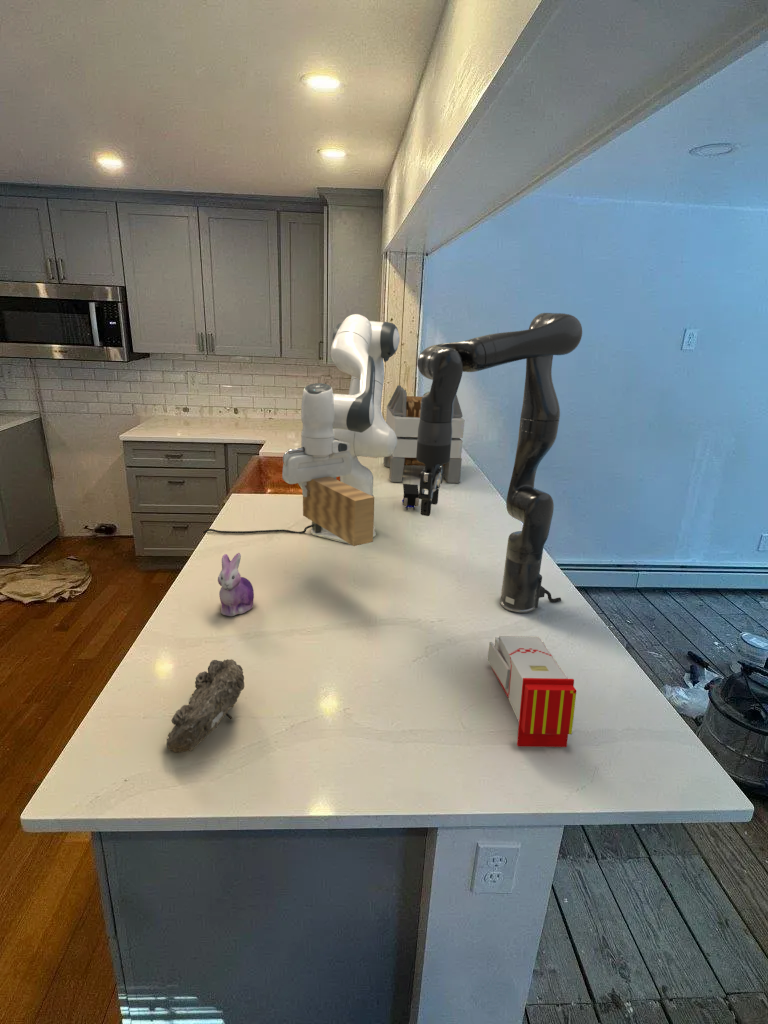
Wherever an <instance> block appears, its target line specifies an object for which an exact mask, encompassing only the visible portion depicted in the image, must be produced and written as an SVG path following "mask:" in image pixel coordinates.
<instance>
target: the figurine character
mask: <svg viewBox="0 0 768 1024" xmlns="http://www.w3.org/2000/svg"><path fill="white" fill-rule="evenodd" d="M402 488H403V489H402V490H403V498H402V500H401V502H402V505H403V507H405V510H406V511H408V510H409V508H410V509H412V511H416V507H419V505H420V504H419V503H420V499H419V497H418V496H419V486H418V484H411V483H402Z"/></svg>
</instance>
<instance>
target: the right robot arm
mask: <svg viewBox="0 0 768 1024" xmlns="http://www.w3.org/2000/svg"><path fill="white" fill-rule="evenodd" d="M582 337H583V326H582V323H581V321H580V320H579V319H578V318H577V317H576V316H574V315H572V314H570V313H564V312H542V313H539V314H537V315H535V316H534V318H533V319H532V320H531V322H530V325H529V327H528V328H527V329H523V330H522V329H521V330H515V331H504V332H496V333H489V334H485V335H480V336H477V337H472V338H469V339H467V340H462V341H455V342H454V341H453V342H445V343H437V344H433V345H430V346H428V347H426V348H424V349H423V350H421V352H420V353H419V355H418V358H417V363H416V364H417V369H418V372H419V374H421V375H422V376H423V377H424V378H426V379H428V380H432V381H431V386H430V390H429V391H427V392H425V393H424V394H422V395H421V397H422V399H421V410H420V422H419V427H418V438H417V454H416V459H417V460H418V461H419V462H421V463H424V464H425V466H424V468H423V469H422V470H421V472H420V473H419V476H420V477H419V487H418V491H419V496H418V497H419V500H420V511H419V514H420V515H421V516H424V517H430V515H431V513H432V505H434V506H436V505H438V503H439V492H440V490H439V489H440V488H441V485H442V483H443V474H442V469H443V464H446V463H448V462H449V461H450V451H451V440H452V414H453V402H454V399H455V396H456V395H457V394H458V390H459V388H460V383H461V380H462V377H463V373H476V372H479V371H484V370H488V369H491V368H495V367H499V366H501V365H505V364H509V363H513V362H517V361H518V362H519V361H522V360H525V378H524V379H525V380H524V389H523V397H522V406H521V413H520V420H519V427H518V436H517V446H516V451H515V457H514V464H513V470H512V475H511V478H510V482H509V485H508V490H507V495H506V502H505V506H506V507H505V508H506V511H507V513H508V515H509V516H510V517H512V518H514V519H516V520H517V521H519V522H522V528H521V530H518V531H514V532H511V533H510V534H509V535H508V538H507V545H506V546H507V547H506V554H505V560H504V569H503V577H502V585H501V592H500V598H499V604H500V606H501V607H502V608H504V609H505V610H507V611H509V612H513V613H517V614H527V613H531V612H533V611H534V610H535V609H538V607H539V601H540V599H541V598H545V595H547V599H548V601H549V602H550V603H557V602H561V601H562V598H561V597H556V598H553V597H552V593H551V592H550V591H549V590H547V589H546V588H545V587H544V586H543V585H542V581H543V576H542V574H540V573H541V567H542V561H543V555H544V554H543V553H544V547H545V544H546V543H547V540H548V538H549V535H550V530H551V525H552V520H553V515H554V508H555V504H554V500H553V497H552V496H551V494H549V493H547V492H545V491H543V490H540V489H538V488H537V487H536V488H535V480H536V475H537V471H538V468H539V464H541V462H542V460H543V459H544V457H546V455H547V454H548V452H549V451H550V450H551V449H552V447H553V445H554V443H555V442H556V440H557V436H558V432H559V426H560V425H559V424H560V419H561V418H560V417H561V409H560V402H559V398H558V396H557V392H556V389H555V386H554V382H553V375H552V373H553V372H552V369H553V360H554V356H565V355H568V354H570V353H572V352H573V351H574V350H576V349H577V347H579V345H580V343H581V340H582ZM425 491H427V493H425Z"/></svg>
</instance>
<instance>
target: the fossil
mask: <svg viewBox="0 0 768 1024" xmlns="http://www.w3.org/2000/svg"><path fill="white" fill-rule="evenodd" d="M243 670H244V669H243V667H242V665H240V664H237V662H236V661H235V660H234V659H232V658H231V659H227V658H226V659H224V660H223V661H222V660H217V659H212V660H211V661H210V663H209V665H208V666H207V671H201V672H199V673H198V674H197V675H196V676H195V680H194V684H195V685H194V687H195V689H194V690H193V693H192V694H191V697H190V698H189V700H188V704H184V705H182V706H181V707H180V709H177V710H176V711H175V713H174V715H173V716H172V718H171V723H172V724H173V727H172V730H171V731H170V732H168V734H167V738H166V741H167V742H166V745H167V749H168V750H169V751H173V752H174V753H176V754H178V753H182V752H188V751H189V752H192V751H193V750H195V748H196V747H197V746H199V744H200V743H201V742H203V741H204V740H205V739H206V738H207V737H208V736H209V735H210V734H211V733H212V732H214V730H215V729H217V727H218V726H219V724H220V722H221V721H222V720H223V719H224V718H225V716H226V717H227V719H229V720H233V717H232V715H230V714H229V710H230V709H231V708H234V706H235V704H236V703H237V702H238V699H239V697H240V695H241V693H242V691H243V690H245V689H244V688H245V675H244V671H243Z"/></svg>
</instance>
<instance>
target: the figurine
mask: <svg viewBox="0 0 768 1024" xmlns="http://www.w3.org/2000/svg"><path fill="white" fill-rule="evenodd" d="M241 557H242V554H241V553H240V552H237V553H236V554H235V555H234V557H232V559H231V560H230V557H229V555H228V554H227V553H224V554H222V557H221V570H220V573H219V574H218V577H217V583H218V585H219V586H220V587H221V588H220V590H219V593H218V596H219V597H218V598H219V601H220V604H221V608H220V614H221V615H223V616H228V617H234V616H237V615H242V614H245V613H246V612H249V611H250V610H251V609H253V607H254V598H255V592H254V591H255V590H254V587H253V584H252V583H251V581H250V580H249V579H247V578H246V577H245V576H241V573H240V572H239V567H240V563H241V560H242V559H241Z"/></svg>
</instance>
